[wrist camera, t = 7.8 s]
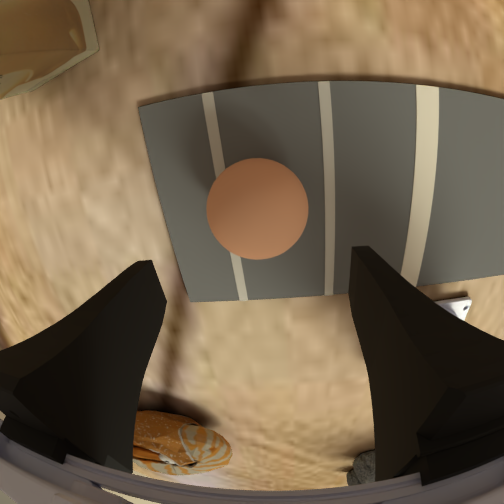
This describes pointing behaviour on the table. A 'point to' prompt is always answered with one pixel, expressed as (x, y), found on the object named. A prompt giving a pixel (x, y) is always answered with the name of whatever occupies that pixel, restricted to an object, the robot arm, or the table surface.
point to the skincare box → (42, 41)
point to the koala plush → (362, 469)
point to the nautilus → (177, 444)
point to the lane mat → (337, 182)
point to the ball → (257, 208)
